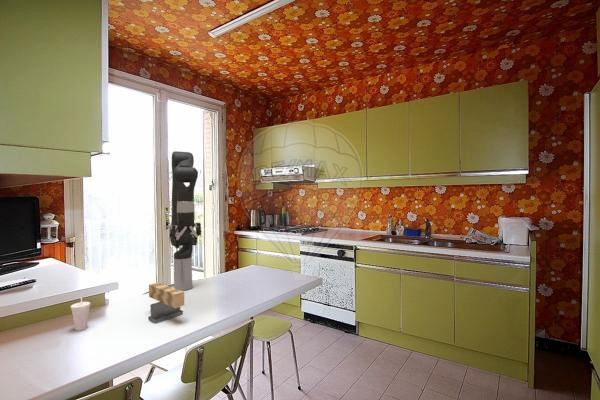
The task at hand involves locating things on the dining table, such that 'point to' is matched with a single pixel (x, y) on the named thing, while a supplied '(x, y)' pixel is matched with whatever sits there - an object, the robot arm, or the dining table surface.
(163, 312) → the ridge
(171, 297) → the oak beam
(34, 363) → the dining table surface
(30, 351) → the dining table surface
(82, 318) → the smoothie
